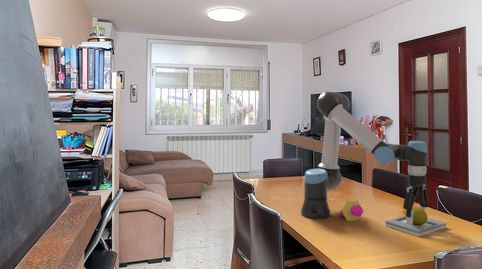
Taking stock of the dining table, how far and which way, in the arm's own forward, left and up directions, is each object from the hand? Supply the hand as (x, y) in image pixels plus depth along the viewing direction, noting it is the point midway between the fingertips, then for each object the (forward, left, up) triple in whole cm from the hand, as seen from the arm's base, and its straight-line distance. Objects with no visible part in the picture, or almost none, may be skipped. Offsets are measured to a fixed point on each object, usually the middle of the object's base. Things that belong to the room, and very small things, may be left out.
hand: (415, 222), depth 149 cm
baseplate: (0, 0, -2) cm, 2 cm away
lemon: (0, 0, -1) cm, 1 cm away
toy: (-17, +23, -2) cm, 29 cm away
